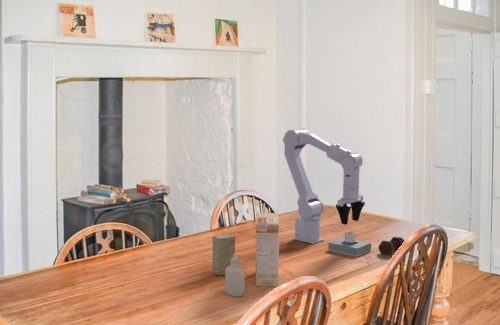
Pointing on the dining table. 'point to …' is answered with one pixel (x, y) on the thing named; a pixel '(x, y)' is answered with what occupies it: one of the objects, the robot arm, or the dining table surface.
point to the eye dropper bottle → (234, 278)
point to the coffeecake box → (267, 249)
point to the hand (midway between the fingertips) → (349, 222)
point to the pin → (349, 238)
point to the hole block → (349, 247)
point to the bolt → (390, 245)
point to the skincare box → (222, 252)
